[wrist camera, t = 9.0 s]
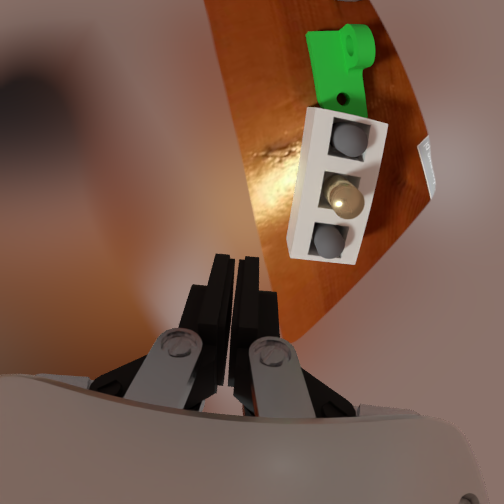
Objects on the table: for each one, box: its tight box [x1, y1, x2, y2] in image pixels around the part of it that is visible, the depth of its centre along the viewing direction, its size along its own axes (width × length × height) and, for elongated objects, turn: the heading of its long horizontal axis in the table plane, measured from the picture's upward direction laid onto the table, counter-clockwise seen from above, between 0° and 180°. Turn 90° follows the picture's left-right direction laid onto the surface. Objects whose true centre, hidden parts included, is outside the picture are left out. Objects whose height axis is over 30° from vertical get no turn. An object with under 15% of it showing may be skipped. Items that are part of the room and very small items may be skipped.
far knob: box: [312, 222, 345, 259], centre depth 39 cm, size 4×4×6 cm
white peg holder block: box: [286, 107, 388, 265], centre depth 37 cm, size 19×9×6 cm, turn 174°
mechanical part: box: [306, 24, 375, 118], centre depth 30 cm, size 12×6×8 cm, turn 10°
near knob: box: [329, 122, 368, 157], centre depth 33 cm, size 4×4×6 cm
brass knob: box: [322, 175, 365, 219], centre depth 34 cm, size 4×4×6 cm
